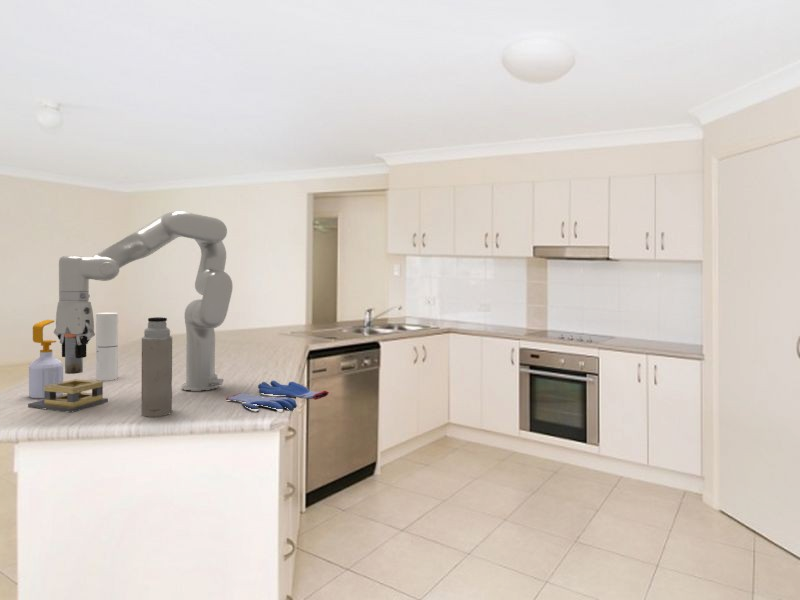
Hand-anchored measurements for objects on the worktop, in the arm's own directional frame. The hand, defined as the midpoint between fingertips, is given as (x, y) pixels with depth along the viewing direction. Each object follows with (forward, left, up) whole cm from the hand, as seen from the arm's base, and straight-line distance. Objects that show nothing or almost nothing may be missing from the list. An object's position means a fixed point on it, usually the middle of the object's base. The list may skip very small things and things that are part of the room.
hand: (74, 356), depth 151 cm
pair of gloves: (-53, -28, -16) cm, 62 cm away
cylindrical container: (+21, -33, -15) cm, 42 cm away
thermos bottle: (-29, -1, -15) cm, 33 cm away
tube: (0, 0, -5) cm, 5 cm away
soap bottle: (+18, -6, -15) cm, 24 cm away
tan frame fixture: (+2, 0, -15) cm, 15 cm away
